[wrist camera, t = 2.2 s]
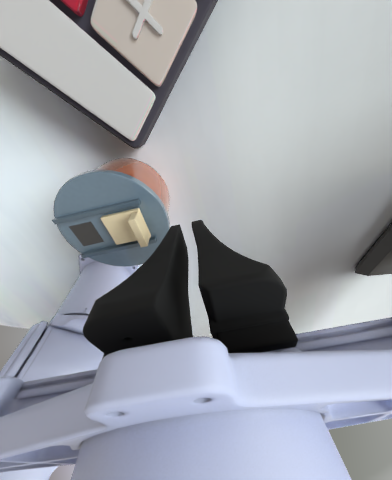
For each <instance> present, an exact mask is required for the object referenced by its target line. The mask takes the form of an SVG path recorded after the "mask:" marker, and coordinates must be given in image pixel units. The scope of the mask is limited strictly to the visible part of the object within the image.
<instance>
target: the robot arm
mask: <svg viewBox="0 0 392 480" xmlns="http://www.w3.org/2000/svg"><path fill="white" fill-rule="evenodd" d="M192 229H193V233H194V237H195V241H196V244H197V250H198V266H199V288H200V292H201V295H202V298H203V301H204V304H205V308H206V311H207V314H208V318H209V325H210V332H211V334H212V336H213V338H210V337H193V335H192V326H191V317H190V308H189V297H188V252H187V246H186V243H185V240H184V237H183V234H182V230H181V227H180V225H176V226H171V227H170V229H169V230H168V232H167V234H166V235H165V237H164V238H163V240H162V241H161V243H160V244H159V246H158V247H157V248H156V250H155V251H154V252H153V254H152V255H151V256H150V257H149V258H148V259H147V261H146V262H145V263H144V264H143V265H142V266H141V267H140V268H138V269H137V266H138V265H135V266H112V265H107V264H104V263H100V262H98V261H95V260H93V259H91V258H89V257H87V258H82V257H81V254H82V253H81V254H80V255H79V266H80V276H79V277H78V279H77V281H76V282H75V284H74V285H73V287H72V289H71V290H70V292H69V293H68V295H67V297H66V298H65V300H64V301H63V303H62V305H61V306H60V308H59V310H58V311H57V313H56V314H55V316H54V317H53V318H52V320H51V321H50V322H49V324H48V322H46V321H41V322H40V323H38V324H35V325H33V326H32V327H31V328H30V330H29V331H28V333H27V334H26V335H25V337H24V338H23V340H22V341H21V343H20V344H19V345H18V347H17V348H16V350H15V351H14V353H13V354H12V355H11V357H10V358H9V360H8V361H7V363H6V364H5V365H4V367H3V368H2V370H1V371H0V480H49V477H50V475H51V473H52V472H53V471H54V470H55V469H56V468H57V467H58V466H62V465H72V464H75V468H74V471H73V474H72V478H71V480H351V478H350V476H349V473H348V471H347V469H346V467H345V465H344V463H343V461H342V459H341V457H340V455H339V452H338V450H337V448H336V446H335V444H334V442H333V439H332V438H331V435H330V433H329V431H328V430H329V429H335V428H340V427H346V426H351V425H357V424H362V423H368V422H374V421H379V420H384V419H391V418H392V317H391V318H385V319H380V320H374V321H368V322H363V323H357V324H351V325H346V326H340V327H334V328H328V329H323V330H317V331H311V332H306V333H300V334H295V332H294V330H293V328H292V327H291V325H290V323H289V321H288V320H289V316H288V314H287V312H286V310H285V309H284V308H285V302H286V296H287V289H286V288H285V286H284V284H283V282H282V281H281V279H280V278H279V277H278V275H277V274H276V273H275V272H274V271H273V269H272V268H271V267H270V266H269V265H266V264H263V263H260V262H257V261H254V260H252V259H249V258H247V257H245V256H242V255H240V254H239V253H237V252H235V251H233V250H232V249H230V248H228V247H227V246H226V245H224V244H223V243H222V242H220V241H219V240H218V239H217V238H216V237H215V236H214V235H213V234H212V233H211V232H210V231H209V230H208V229H207V227H206V226H205V225H204V223H203V221H202V220H198V221H194V222H192ZM134 267H135V268H134ZM47 324H48V325H47Z"/></svg>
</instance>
